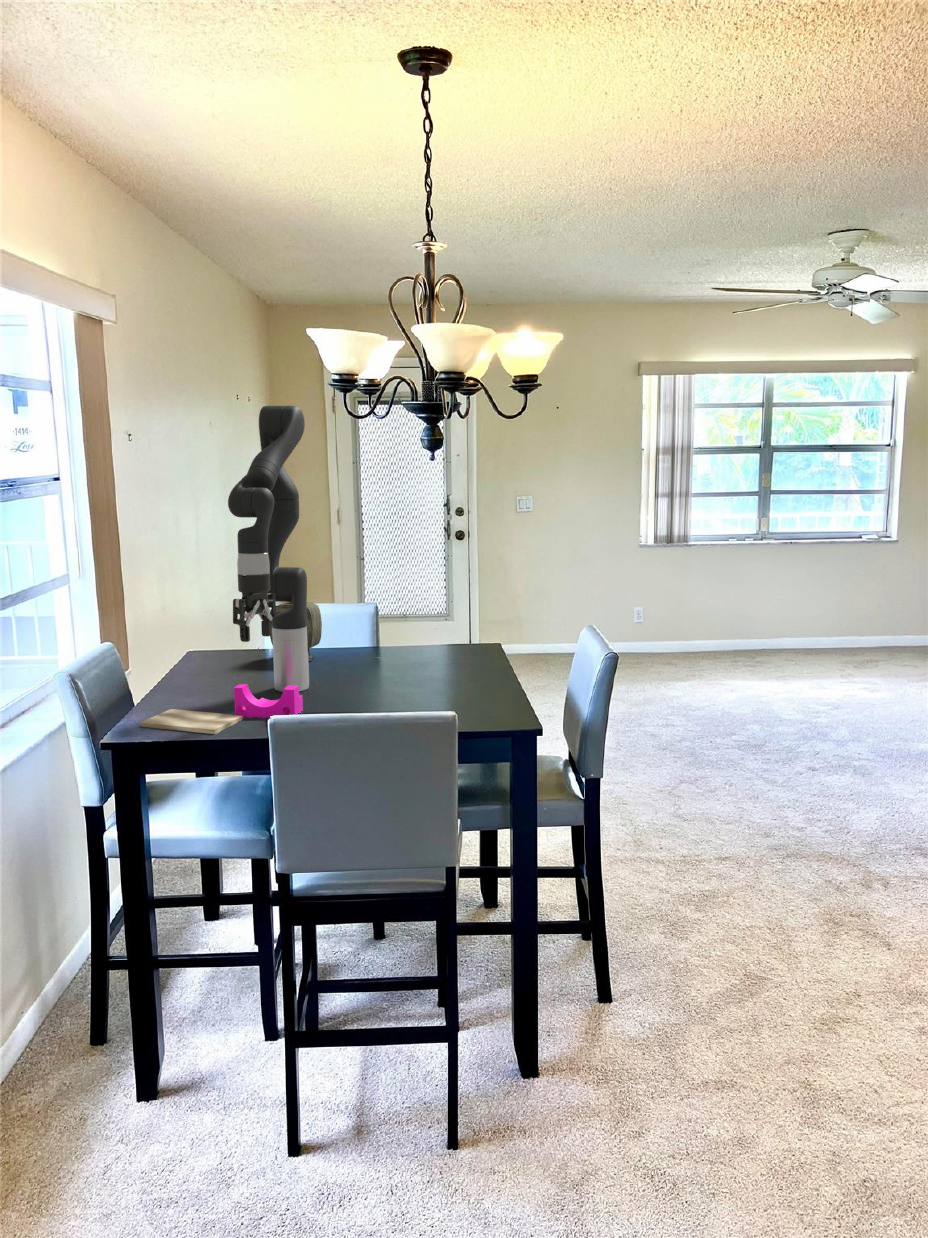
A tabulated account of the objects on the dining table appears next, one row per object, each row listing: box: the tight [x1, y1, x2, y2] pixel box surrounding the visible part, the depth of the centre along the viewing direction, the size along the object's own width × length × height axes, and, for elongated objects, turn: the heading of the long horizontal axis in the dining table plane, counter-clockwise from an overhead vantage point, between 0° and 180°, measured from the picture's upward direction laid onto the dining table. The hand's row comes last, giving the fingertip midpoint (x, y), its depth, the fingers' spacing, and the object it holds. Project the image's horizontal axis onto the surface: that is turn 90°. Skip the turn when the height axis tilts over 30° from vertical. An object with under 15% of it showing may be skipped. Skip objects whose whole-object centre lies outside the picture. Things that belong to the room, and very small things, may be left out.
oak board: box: [139, 708, 244, 735], centre depth 210 cm, size 12×20×1 cm, turn 73°
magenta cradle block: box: [233, 683, 304, 719], centre depth 217 cm, size 15×6×8 cm, turn 83°
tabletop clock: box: [269, 601, 323, 662], centre depth 276 cm, size 14×9×25 cm, turn 77°
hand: (255, 638), depth 214 cm, fingers open, 8 cm apart
